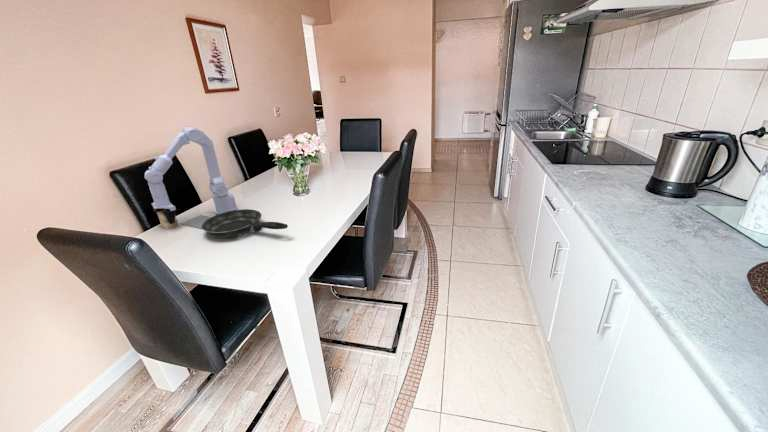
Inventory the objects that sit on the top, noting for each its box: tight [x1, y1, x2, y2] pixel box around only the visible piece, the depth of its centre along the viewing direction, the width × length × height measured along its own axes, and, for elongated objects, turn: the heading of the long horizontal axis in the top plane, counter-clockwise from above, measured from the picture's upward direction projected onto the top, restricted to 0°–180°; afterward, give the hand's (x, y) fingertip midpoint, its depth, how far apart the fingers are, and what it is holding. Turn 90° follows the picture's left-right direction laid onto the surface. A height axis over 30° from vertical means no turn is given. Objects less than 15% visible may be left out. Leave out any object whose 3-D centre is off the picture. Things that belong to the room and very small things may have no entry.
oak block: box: [156, 209, 179, 230], centre depth 148 cm, size 5×4×8 cm
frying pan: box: [201, 208, 289, 239], centre depth 139 cm, size 44×25×7 cm, turn 66°
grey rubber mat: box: [179, 214, 212, 230], centre depth 152 cm, size 11×18×1 cm, turn 64°
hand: (169, 222), depth 148 cm, fingers closed on oak block, 4 cm apart
